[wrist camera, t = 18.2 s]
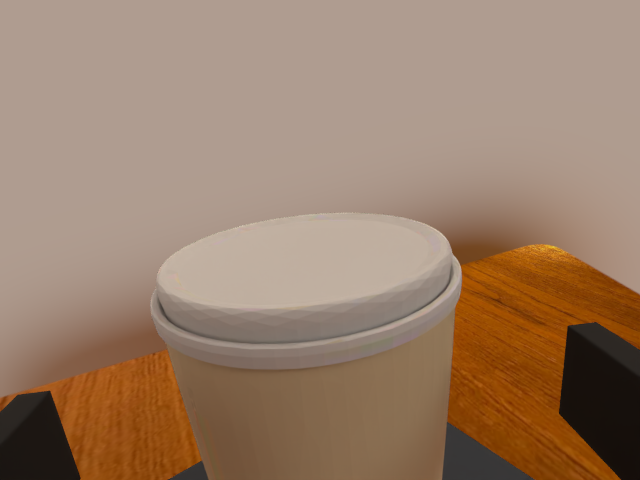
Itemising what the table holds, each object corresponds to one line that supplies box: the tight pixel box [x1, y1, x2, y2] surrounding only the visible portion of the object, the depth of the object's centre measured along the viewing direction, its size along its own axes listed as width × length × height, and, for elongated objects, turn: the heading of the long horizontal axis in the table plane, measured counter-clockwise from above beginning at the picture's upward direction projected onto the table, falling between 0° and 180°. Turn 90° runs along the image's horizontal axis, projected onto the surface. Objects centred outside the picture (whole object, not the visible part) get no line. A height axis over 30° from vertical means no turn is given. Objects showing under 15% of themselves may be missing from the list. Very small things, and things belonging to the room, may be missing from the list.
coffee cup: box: [150, 213, 462, 480], centre depth 14 cm, size 9×9×12 cm
